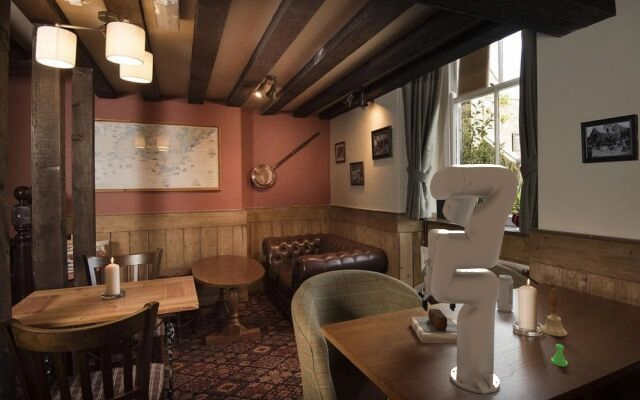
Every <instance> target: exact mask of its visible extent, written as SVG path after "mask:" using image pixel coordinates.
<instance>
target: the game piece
mask: <svg viewBox="0 0 640 400" xmlns="http://www.w3.org/2000/svg"><path fill="white" fill-rule="evenodd" d="M564 348H565V346H564V345H563V344H561V343H556V344H555V349H556V351H555V352H556V353H555V354H554V356H553V357H551V359H550V361H551V363H552V364H553V365H556V366H558V367H564V368H565V367H568V365H569V363H568V361H567V360H566V359H565V356H564V353H563V351H564Z"/></svg>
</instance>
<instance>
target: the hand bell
mask: <svg viewBox="0 0 640 400" xmlns="http://www.w3.org/2000/svg"><path fill="white" fill-rule="evenodd" d="M549 301H550V304H551V309H550V312H551V314H550V315H547V316H546V321H545V323H544V325H542V327H541V328H540V331H541V330H542V331H543V332H542V331H541V332H542V333H544V334H545V335H549V336H552V337H554V336H555V337H566V336H568V332H567V330H565V328H564V326H563V323H562V318H561V317H560V316H558V315H557V314H558V311H557V305H558V303H559V295H558V292H557V289H556V288H552V289H551V291H550V294H549Z"/></svg>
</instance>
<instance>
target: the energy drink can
mask: <svg viewBox="0 0 640 400" xmlns="http://www.w3.org/2000/svg"><path fill="white" fill-rule="evenodd" d="M497 278H498V280H499V295H498V299H497V303H496V309H498V311H499V310H500V311H499V312H501V311H503V312H502V313H505V312H510V311H511V312H512V311H513V309H514V308H513V307H514V306H513V305H514V279H513V278H512V275H507V274H499V275H498V277H497ZM511 312H510V313H511Z"/></svg>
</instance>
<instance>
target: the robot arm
mask: <svg viewBox="0 0 640 400" xmlns="http://www.w3.org/2000/svg"><path fill="white" fill-rule="evenodd" d="M429 184H430V185H429V192H430V195H431V197H432V198H433V199H434V200H438V201H439V200H441V201H442V200H445V201H444V205H443V207H442V214H443V216H444V217H445V218H446V220H448V222H451V223H453V224H455V225H457V226H460V227H463V228H464V230H448V229H443V228H442V229H441V228H434V229H433V228H432V229H429V230H428V233H427V259H424V260H423V263H424V265H426V267H425V271H424V278H423V279H424V280H423V282H422V283H420V284H418V285H416V286H414V290H415V291H416V293H417V295H418V296H419V297H420V298H421V306H422V309H423V310H424V312H429V307H428V305H429V304H428V303H429V302H428V301H429V300H428V298H429V297H430V296H431V297H433V298H434V300H435V301H436V302H438V303H441V304H446V305H449V309H450V310H451V312H455V311H456V310H455V309H456V305H458V304H459V305H461V304H462V306H461V307H460V309H459V311H458V314H457V318H456V322H457V343H456V365H455V366H456V367H453V368H452V369H451V371H450V379H451V380H452V382H453V383H454V384H455V385H456V386H457V387H458V388H459V387H460V388H462V389H463V390H465V391H468V392H472V393H476V394H490V393H491V394H492V393H494V392H496V391H498V390H499V389H500V386H501V381H500V379H499V377H498V376H496V375H495V373H494V370H495V365H494V364H495V363H494V362H495V328H496V327H495V320H496V319H495V318H496V309H497V299H498V295H499V280H498V278H499V277H498V276H497V274H496V273H494V272H493V271H491V270H490V269H492V268H494V267H495V266H496V265H497V263H498V262H499V259H500V255H501V249H502V244H503V239H504V235H505V229H506V224H507V221H508V218H509V216H510V214H511V212H512V209H513V208H514V205H515V203H516V200H517V197H518V180H517V177H516V174H515V172H514V171H513V170H512V169H511V168H509V167H508V166H507V167H506V166H504V165H497V164H454V165H447V166H445V167H443V168H441V169H439V170H437V171H436V172H435V173H434V174H433V175H432V177H431V180H430V183H429ZM479 198H485V199H484V200H482V201H481V202H480V203H479V204H478V205H477V202H478V200H479ZM476 205H477V206H476ZM422 289H423V293H422V292H421V290H422Z"/></svg>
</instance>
